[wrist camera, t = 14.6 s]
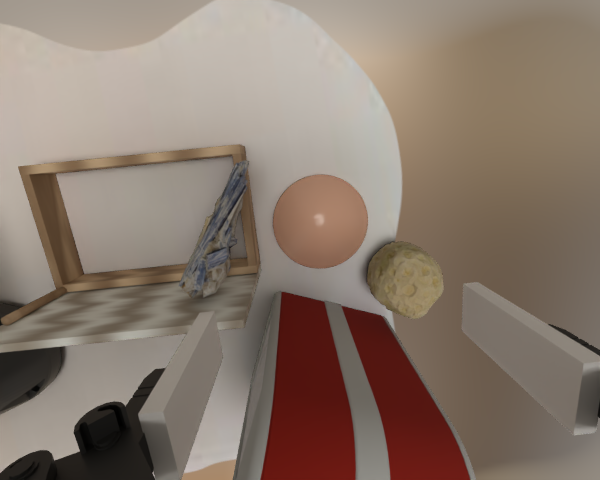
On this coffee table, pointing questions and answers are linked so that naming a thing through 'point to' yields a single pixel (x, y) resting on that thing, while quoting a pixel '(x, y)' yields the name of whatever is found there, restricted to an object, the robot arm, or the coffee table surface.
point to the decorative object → (405, 279)
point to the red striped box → (342, 402)
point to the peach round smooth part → (320, 221)
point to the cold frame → (121, 273)
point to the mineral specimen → (216, 239)
